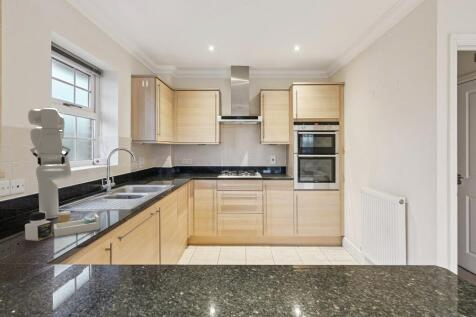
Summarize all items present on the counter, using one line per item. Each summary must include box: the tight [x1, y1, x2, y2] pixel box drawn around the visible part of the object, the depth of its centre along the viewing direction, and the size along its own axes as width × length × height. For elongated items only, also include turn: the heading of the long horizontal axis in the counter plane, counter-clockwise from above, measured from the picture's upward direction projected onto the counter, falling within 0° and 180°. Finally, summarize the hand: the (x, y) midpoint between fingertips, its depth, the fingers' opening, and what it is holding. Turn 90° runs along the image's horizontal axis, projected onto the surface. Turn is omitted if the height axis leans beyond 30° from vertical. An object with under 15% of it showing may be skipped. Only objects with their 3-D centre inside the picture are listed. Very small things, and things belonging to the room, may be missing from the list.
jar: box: [57, 210, 71, 223], centre depth 145 cm, size 6×6×8 cm
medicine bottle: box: [24, 211, 53, 242], centre depth 126 cm, size 7×7×12 cm
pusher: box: [83, 216, 95, 224], centre depth 141 cm, size 8×4×4 cm, turn 36°
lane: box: [53, 213, 101, 237], centre depth 138 cm, size 11×19×6 cm, turn 126°
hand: (51, 165), depth 144 cm, fingers open, 9 cm apart
